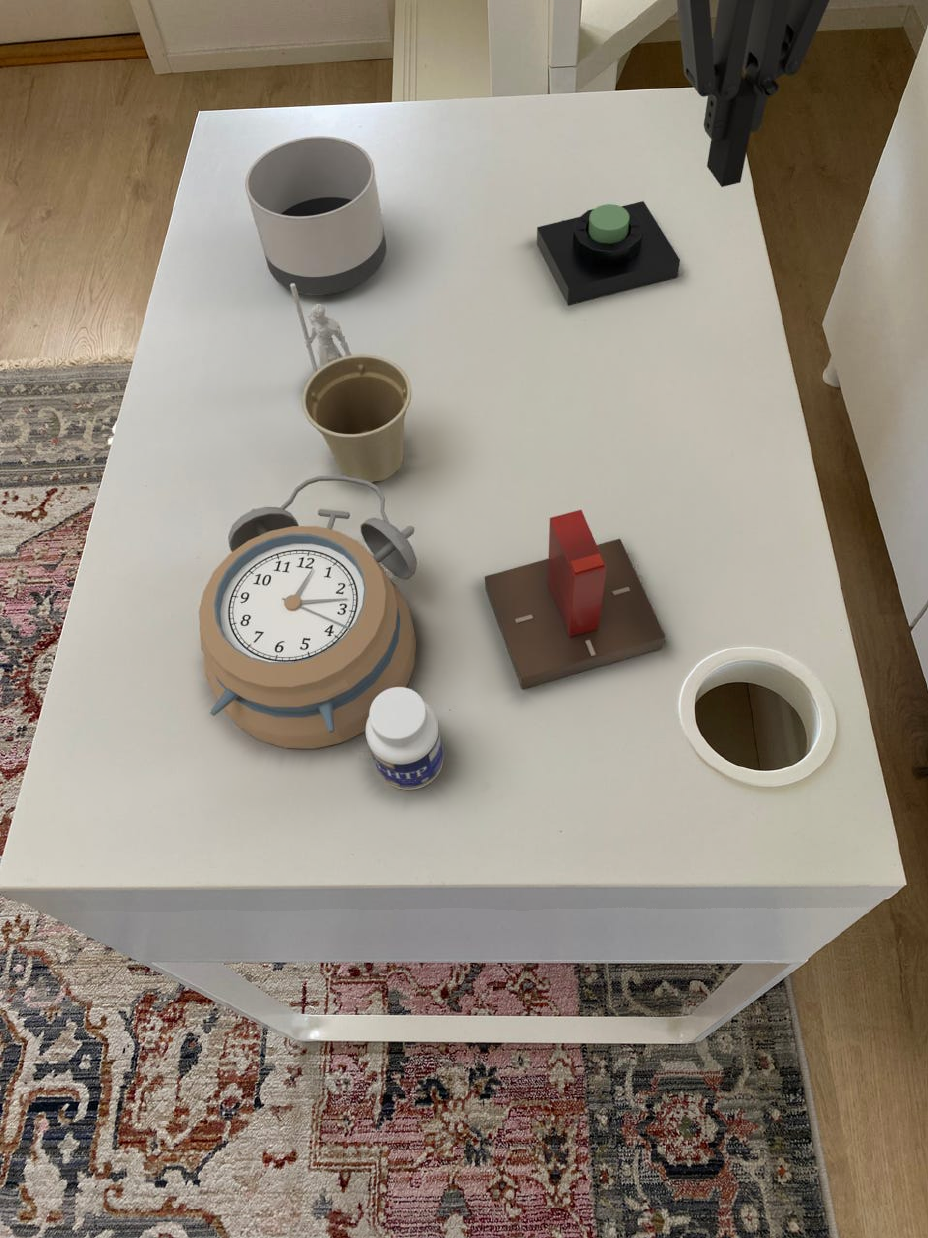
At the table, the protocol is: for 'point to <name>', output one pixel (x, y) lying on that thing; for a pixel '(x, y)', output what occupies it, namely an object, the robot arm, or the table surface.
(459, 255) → the table surface
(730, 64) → the robot arm
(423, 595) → the table surface
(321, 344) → the figurine
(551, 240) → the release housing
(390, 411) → the flower pot
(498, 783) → the table surface
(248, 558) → the alarm clock
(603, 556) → the base plate
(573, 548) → the red rectangular block
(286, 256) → the planter
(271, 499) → the table surface
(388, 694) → the pill bottle
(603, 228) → the release button
